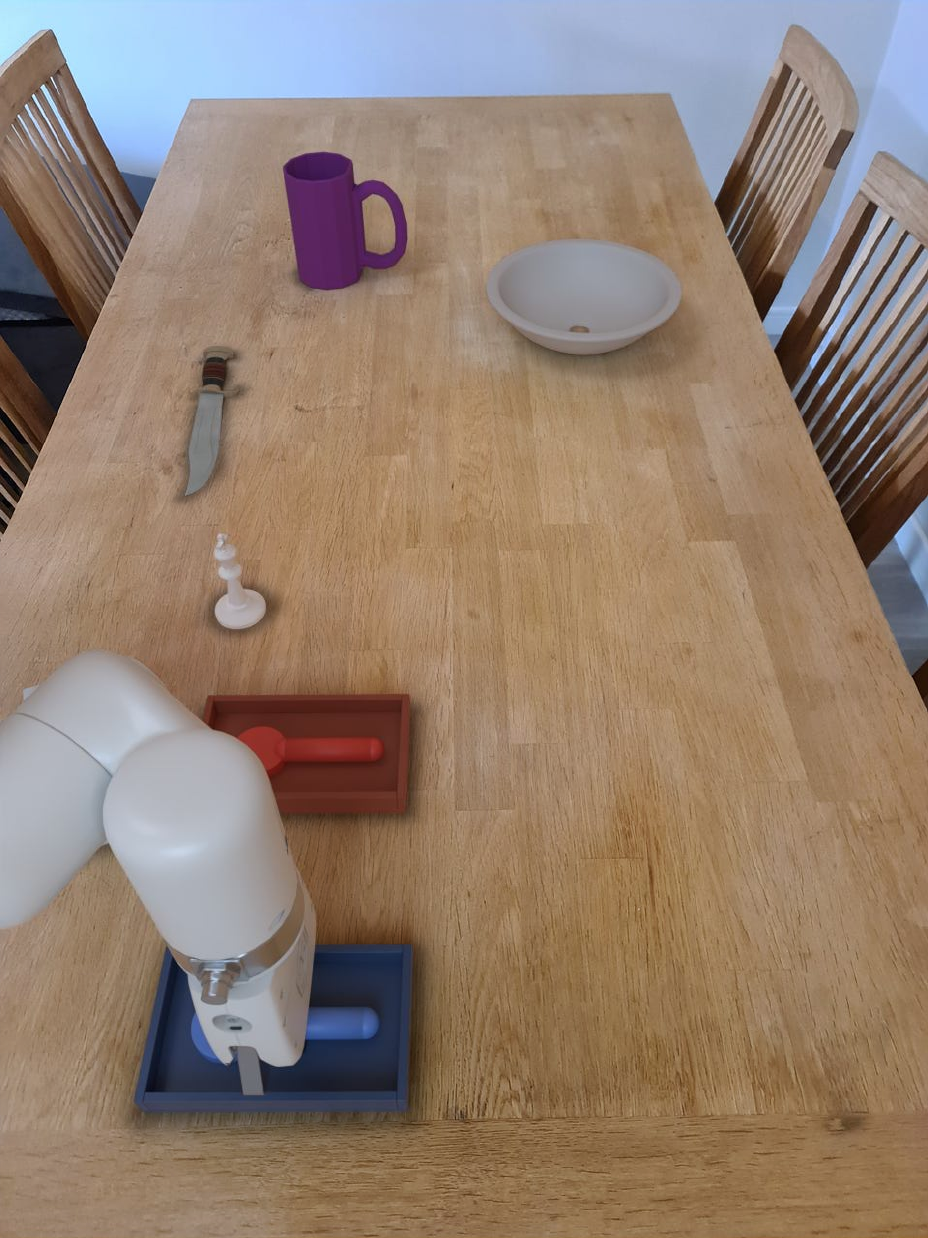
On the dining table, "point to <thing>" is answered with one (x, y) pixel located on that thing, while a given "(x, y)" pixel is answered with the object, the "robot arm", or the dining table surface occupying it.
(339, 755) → the red spoon
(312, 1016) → the blue spoon
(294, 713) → the terracotta tray
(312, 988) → the slate-blue tray
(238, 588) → the chess piece
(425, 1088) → the dining table surface
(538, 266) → the white vessel sink
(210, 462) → the knife
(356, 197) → the mug
